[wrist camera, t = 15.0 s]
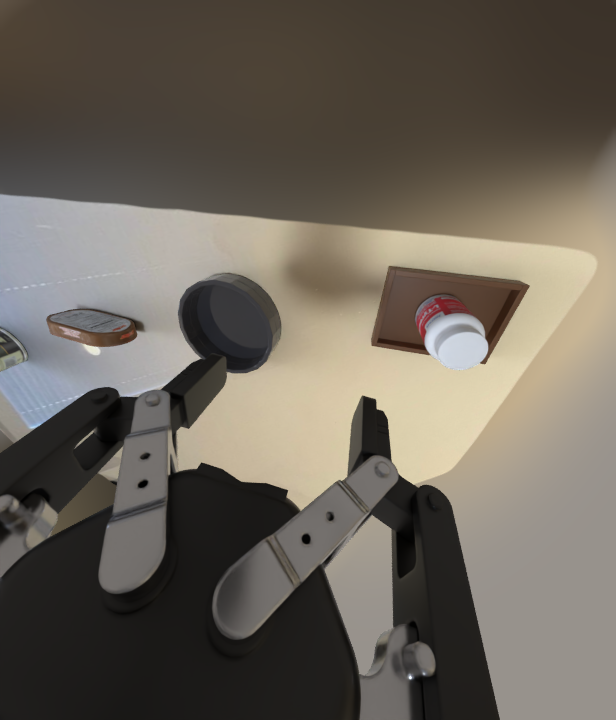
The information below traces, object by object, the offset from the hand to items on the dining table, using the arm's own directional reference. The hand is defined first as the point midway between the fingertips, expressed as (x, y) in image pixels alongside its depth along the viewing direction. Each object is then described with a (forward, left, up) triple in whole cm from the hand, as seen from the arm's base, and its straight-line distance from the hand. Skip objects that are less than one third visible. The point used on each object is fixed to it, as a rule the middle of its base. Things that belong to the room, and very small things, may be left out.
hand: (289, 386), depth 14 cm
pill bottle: (-3, +15, -26) cm, 30 cm away
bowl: (+15, -12, -26) cm, 32 cm away
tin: (+29, -36, -26) cm, 53 cm away
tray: (-3, +15, -26) cm, 30 cm away
